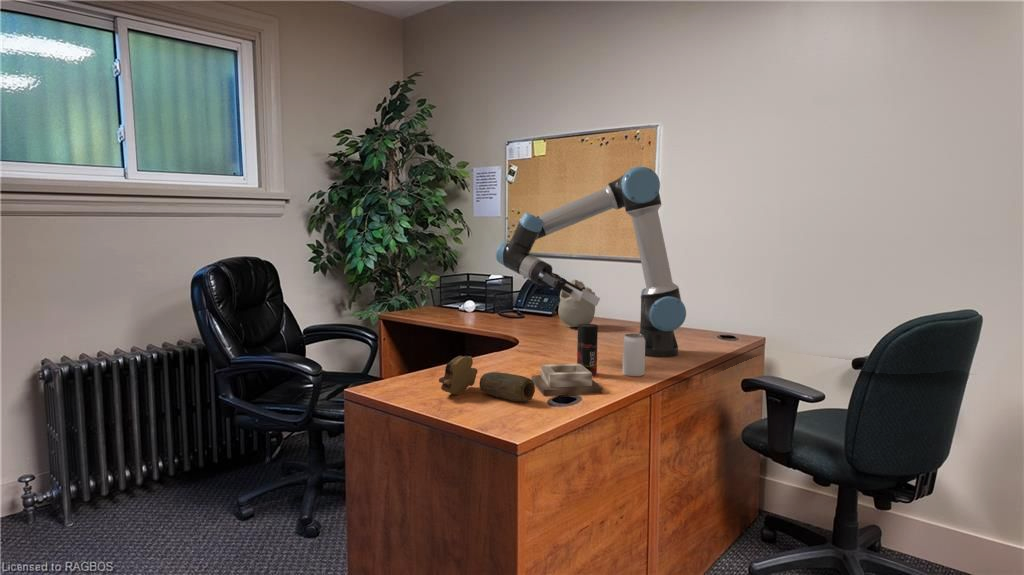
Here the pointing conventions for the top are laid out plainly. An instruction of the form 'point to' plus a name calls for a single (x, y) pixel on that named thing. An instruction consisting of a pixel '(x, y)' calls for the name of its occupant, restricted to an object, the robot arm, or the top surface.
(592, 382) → the socket
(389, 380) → the top surface
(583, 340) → the deodorant
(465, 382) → the wooden carving
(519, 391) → the olive hollow cylinder
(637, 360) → the can
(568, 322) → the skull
